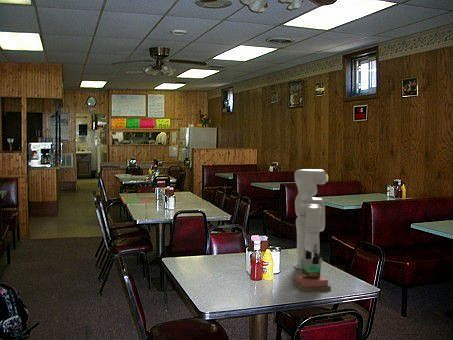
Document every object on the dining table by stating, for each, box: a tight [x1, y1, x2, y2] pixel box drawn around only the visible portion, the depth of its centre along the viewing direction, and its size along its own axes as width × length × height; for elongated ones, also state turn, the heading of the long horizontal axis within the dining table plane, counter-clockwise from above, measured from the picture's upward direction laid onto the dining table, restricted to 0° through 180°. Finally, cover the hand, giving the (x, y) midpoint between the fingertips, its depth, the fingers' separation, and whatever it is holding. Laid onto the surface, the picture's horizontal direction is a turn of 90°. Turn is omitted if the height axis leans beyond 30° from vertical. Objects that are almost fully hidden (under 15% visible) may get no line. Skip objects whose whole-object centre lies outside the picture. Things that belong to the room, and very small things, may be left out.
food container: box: [300, 256, 323, 279], centre depth 256 cm, size 12×6×10 cm, turn 106°
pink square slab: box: [294, 273, 329, 287], centre depth 259 cm, size 13×13×3 cm
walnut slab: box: [292, 279, 332, 293], centre depth 258 cm, size 15×15×3 cm
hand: (312, 261), depth 258 cm, fingers open, 9 cm apart
